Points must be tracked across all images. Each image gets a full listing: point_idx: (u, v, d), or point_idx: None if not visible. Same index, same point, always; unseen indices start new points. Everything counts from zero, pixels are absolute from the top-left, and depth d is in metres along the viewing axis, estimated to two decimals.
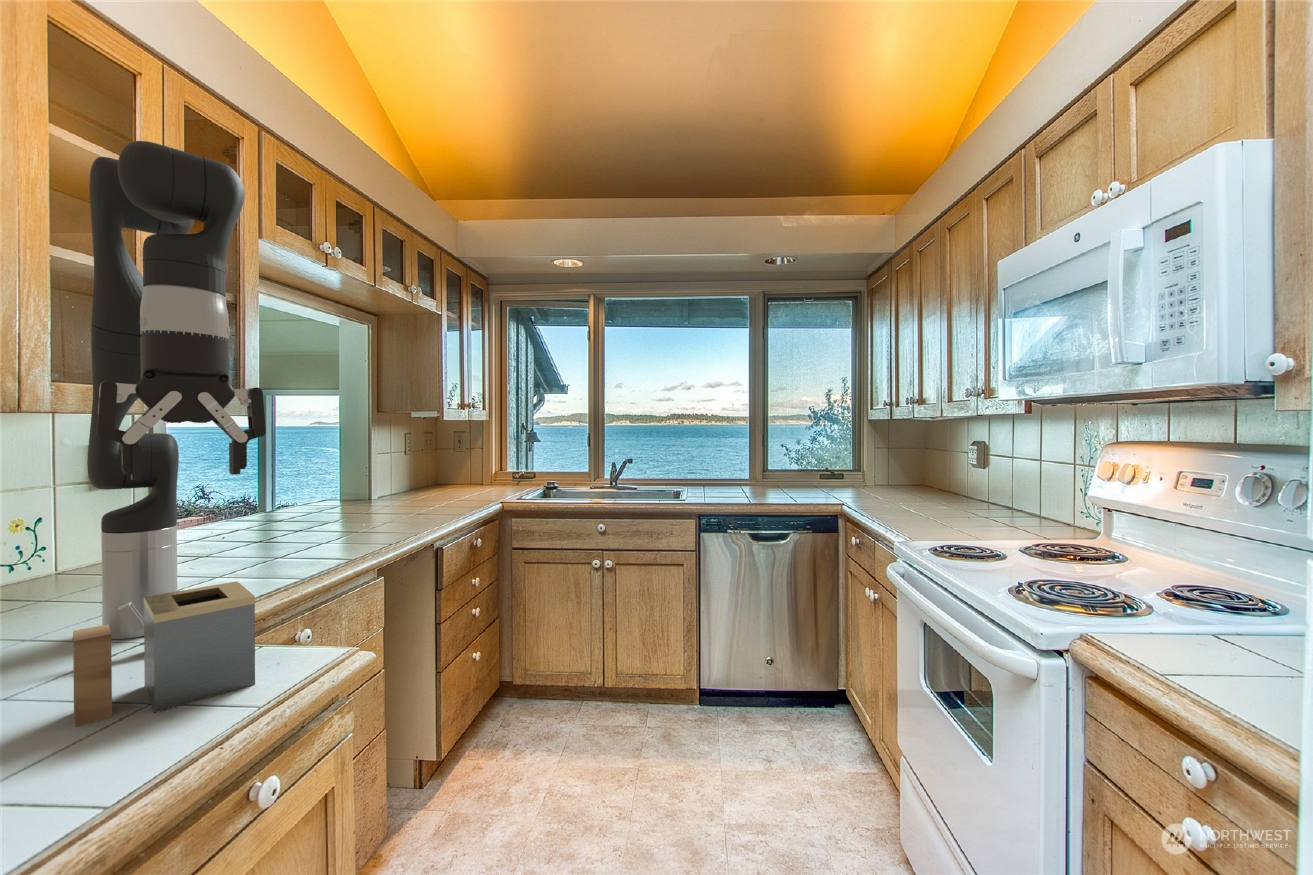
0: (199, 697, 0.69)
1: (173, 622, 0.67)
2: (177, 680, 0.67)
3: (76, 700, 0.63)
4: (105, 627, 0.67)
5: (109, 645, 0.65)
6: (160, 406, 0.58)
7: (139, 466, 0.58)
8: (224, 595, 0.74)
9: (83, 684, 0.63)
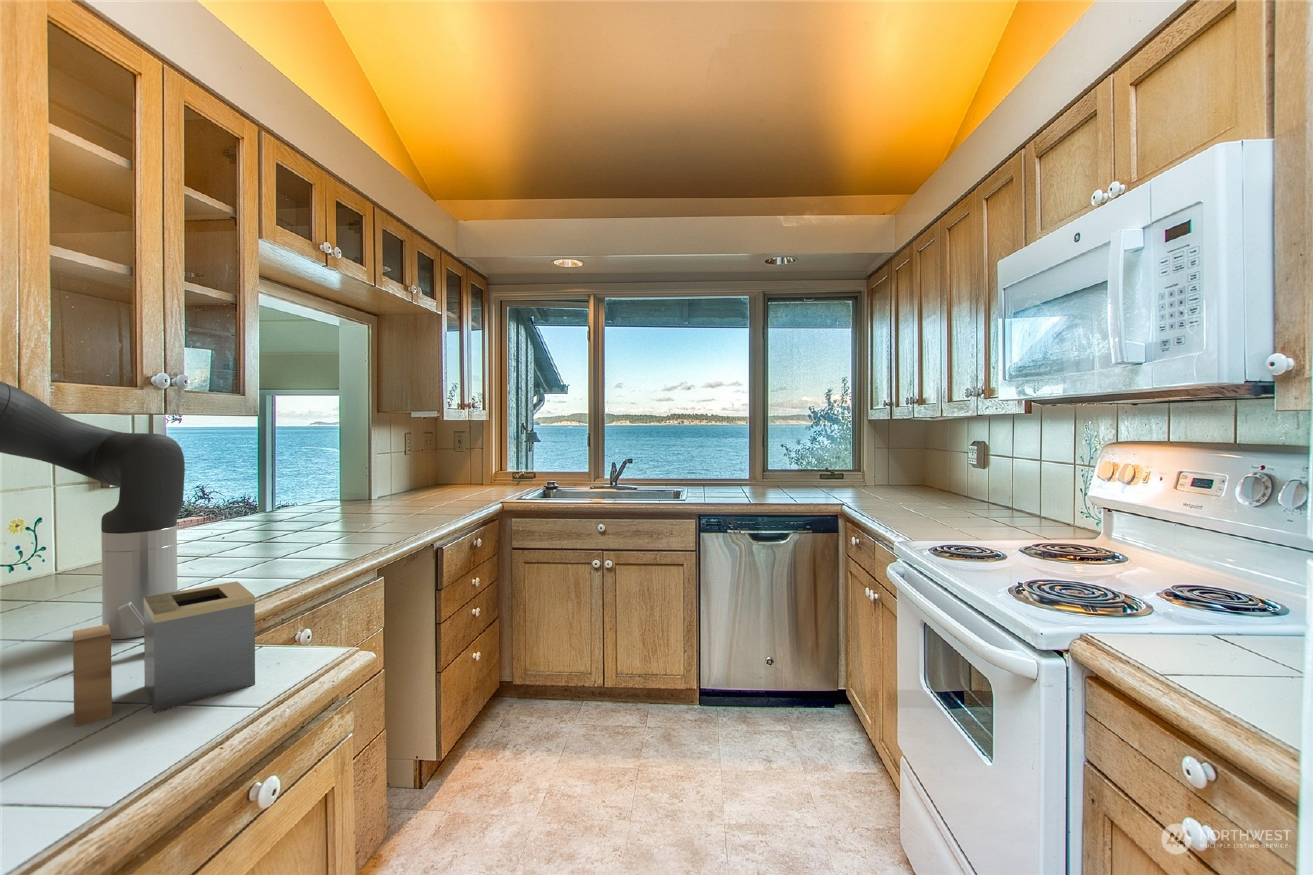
0: (199, 697, 0.69)
1: (173, 622, 0.67)
2: (177, 680, 0.67)
3: (76, 700, 0.63)
4: (104, 627, 0.67)
5: (109, 645, 0.65)
6: None
7: None
8: (224, 595, 0.74)
9: (83, 684, 0.63)
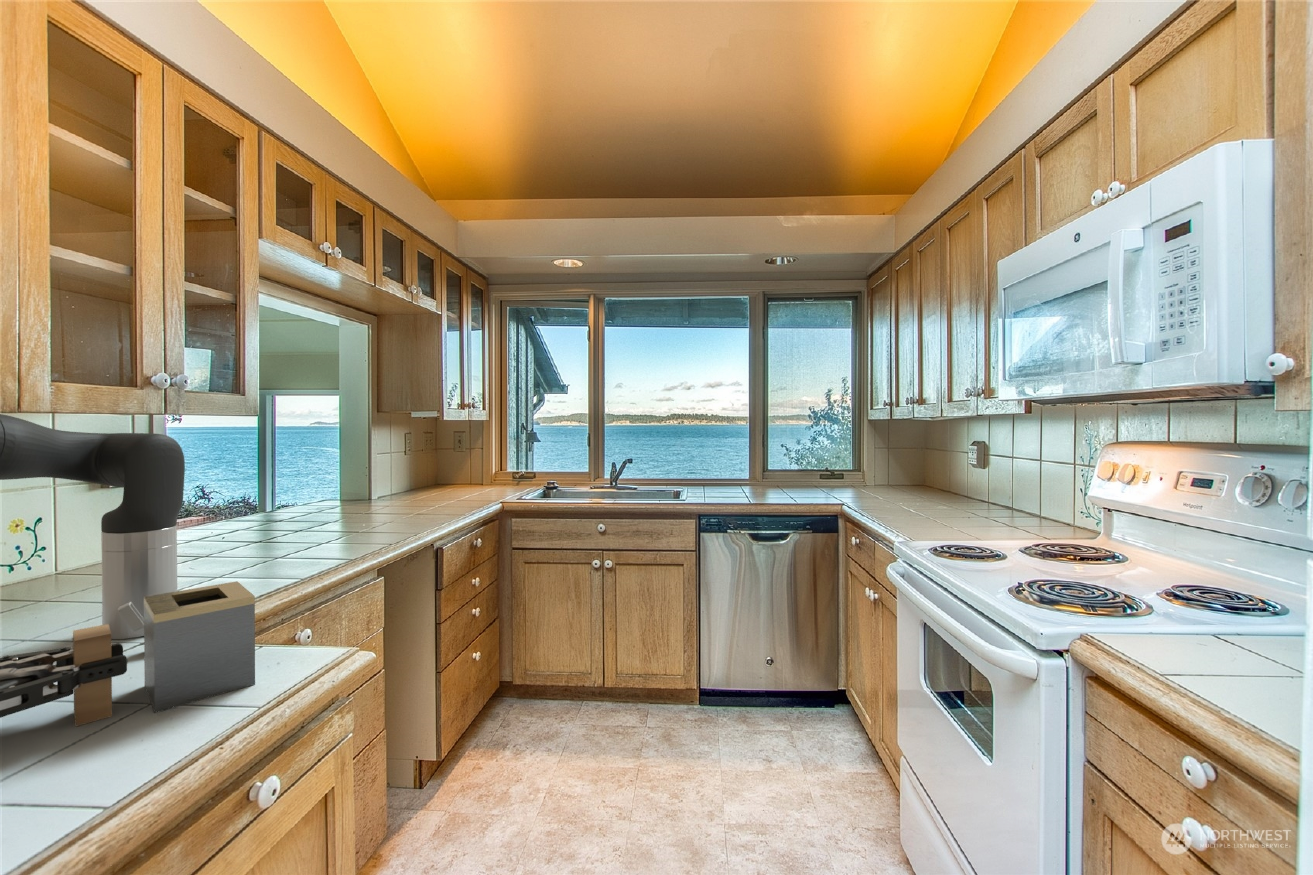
0: (199, 697, 0.69)
1: (173, 622, 0.67)
2: (177, 680, 0.67)
3: (76, 700, 0.63)
4: (105, 627, 0.67)
5: (109, 645, 0.65)
6: None
7: None
8: (224, 595, 0.74)
9: (83, 684, 0.63)
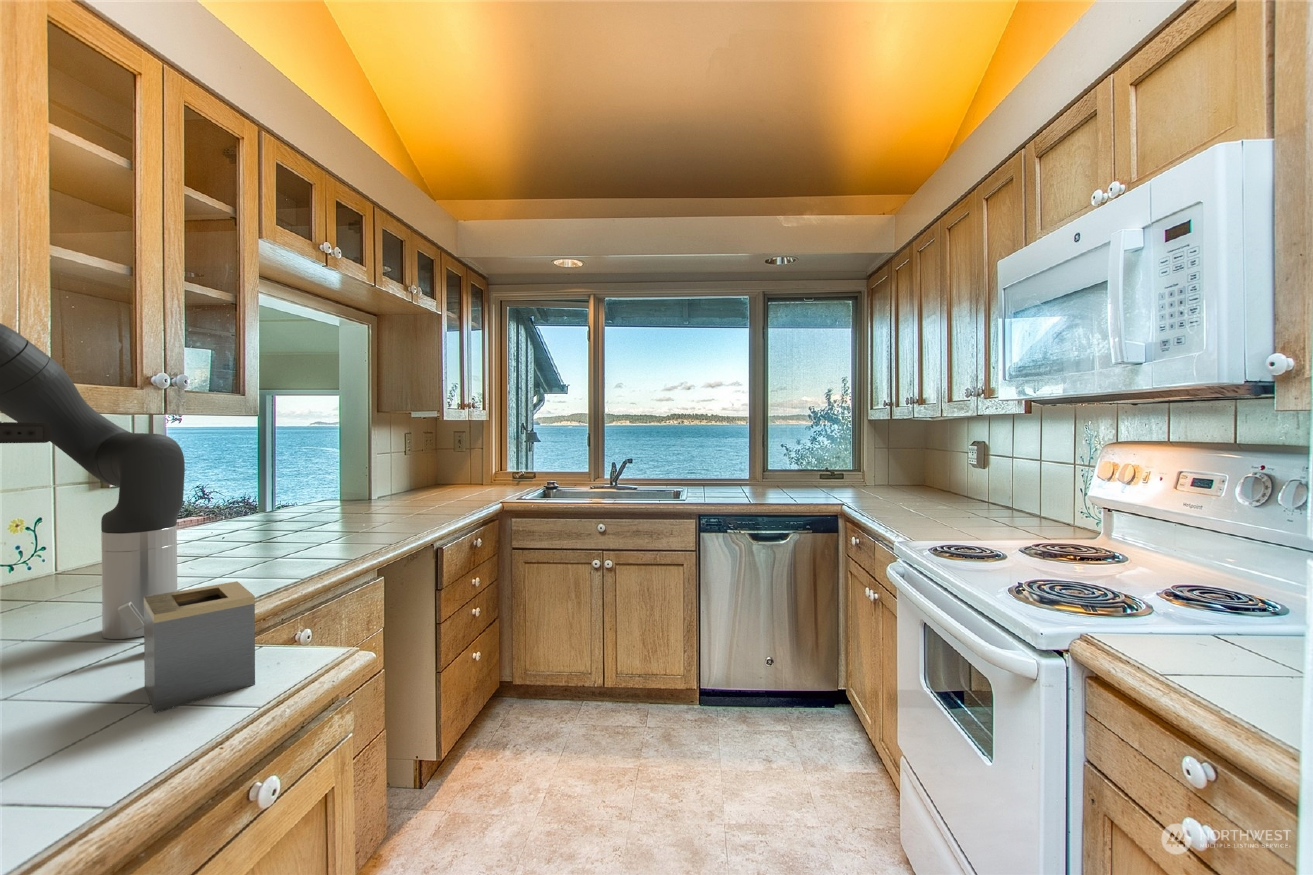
0: (199, 697, 0.69)
1: (173, 622, 0.67)
2: (177, 680, 0.67)
3: None
4: None
5: None
6: None
7: None
8: (224, 595, 0.74)
9: None
